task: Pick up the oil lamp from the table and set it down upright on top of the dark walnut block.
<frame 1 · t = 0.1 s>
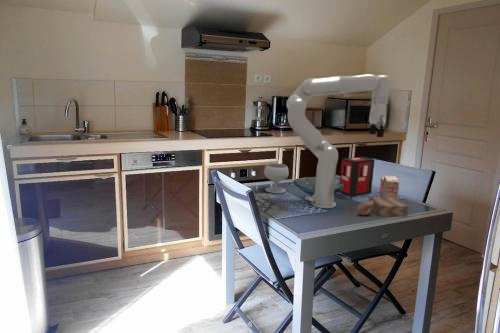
hand: (376, 135, 191), 37 cm above the table, tool pointing down, fingers open, 9 cm apart
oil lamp: (365, 215, 185), on the table
stack of blocks: (387, 197, 214), on the table
chalice: (275, 191, 220), on the table
walnut base block: (387, 211, 191), on the table
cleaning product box: (354, 193, 221), on the table
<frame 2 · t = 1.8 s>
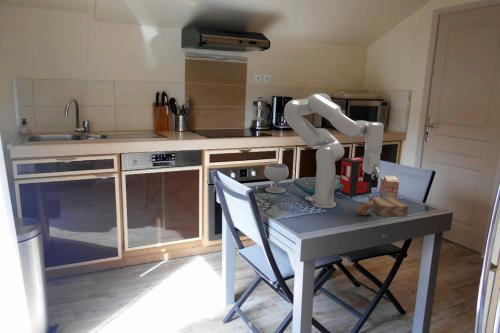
hand: (370, 184, 181), 15 cm above the table, tool pointing down, fingers open, 9 cm apart
nothing on the table moved.
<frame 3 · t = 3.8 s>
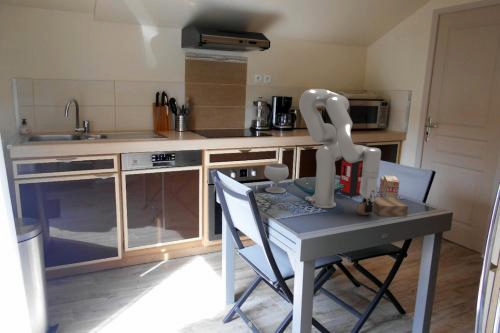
hand: (366, 210, 184), 2 cm above the table, tool pointing down, fingers closed on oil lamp, 4 cm apart
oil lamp: (365, 215, 185), on the table, touching gripper
everything else where it was.
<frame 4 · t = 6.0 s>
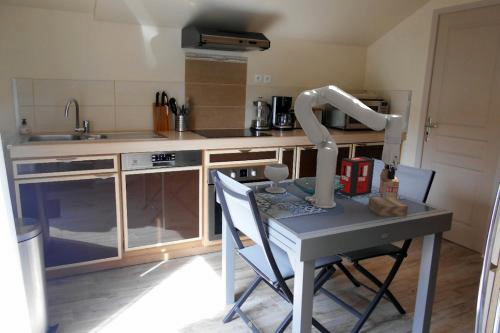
hand: (389, 177, 186), 18 cm above the table, tool pointing down, fingers closed on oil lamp, 4 cm apart
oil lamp: (388, 182, 187), point 15 cm above the table, touching gripper
everything else where it was.
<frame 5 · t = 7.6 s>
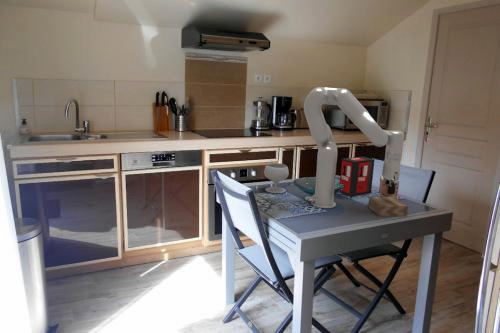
hand: (389, 192, 189), 10 cm above the table, tool pointing down, fingers closed on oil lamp, 4 cm apart
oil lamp: (388, 197, 190), point 7 cm above the table, touching gripper
everything else where it was.
when the fingers open (10 cm above the table, at t = 8.3 s): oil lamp drops 2 cm, resting on walnut base block.
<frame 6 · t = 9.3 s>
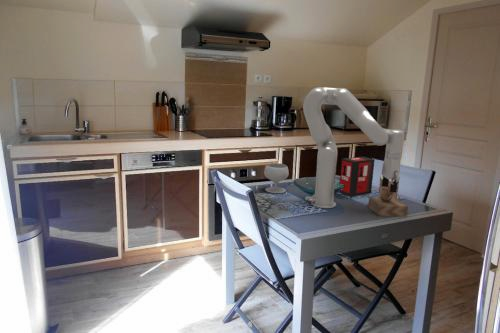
hand: (388, 189, 189), 11 cm above the table, tool pointing down, fingers open, 9 cm apart
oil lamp: (387, 201, 191), point 5 cm above the table, touching walnut base block
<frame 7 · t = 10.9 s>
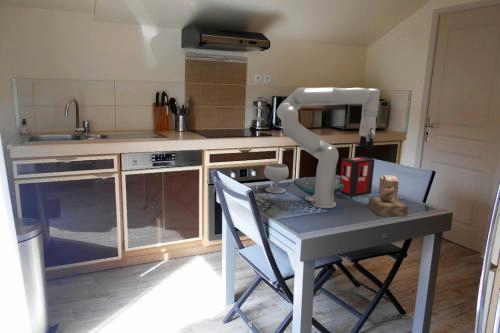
hand: (365, 147, 194), 30 cm above the table, tool pointing down, fingers open, 9 cm apart
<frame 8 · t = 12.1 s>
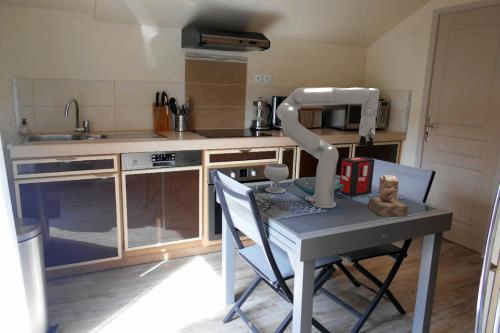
hand: (365, 147, 195), 30 cm above the table, tool pointing down, fingers open, 9 cm apart
at the end: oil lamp inside the target area on the walnut base block (0.5 cm from its centre), point 4.8 cm above the walnut base block's base; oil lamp tilted 0°; the gripper is holding nothing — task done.
